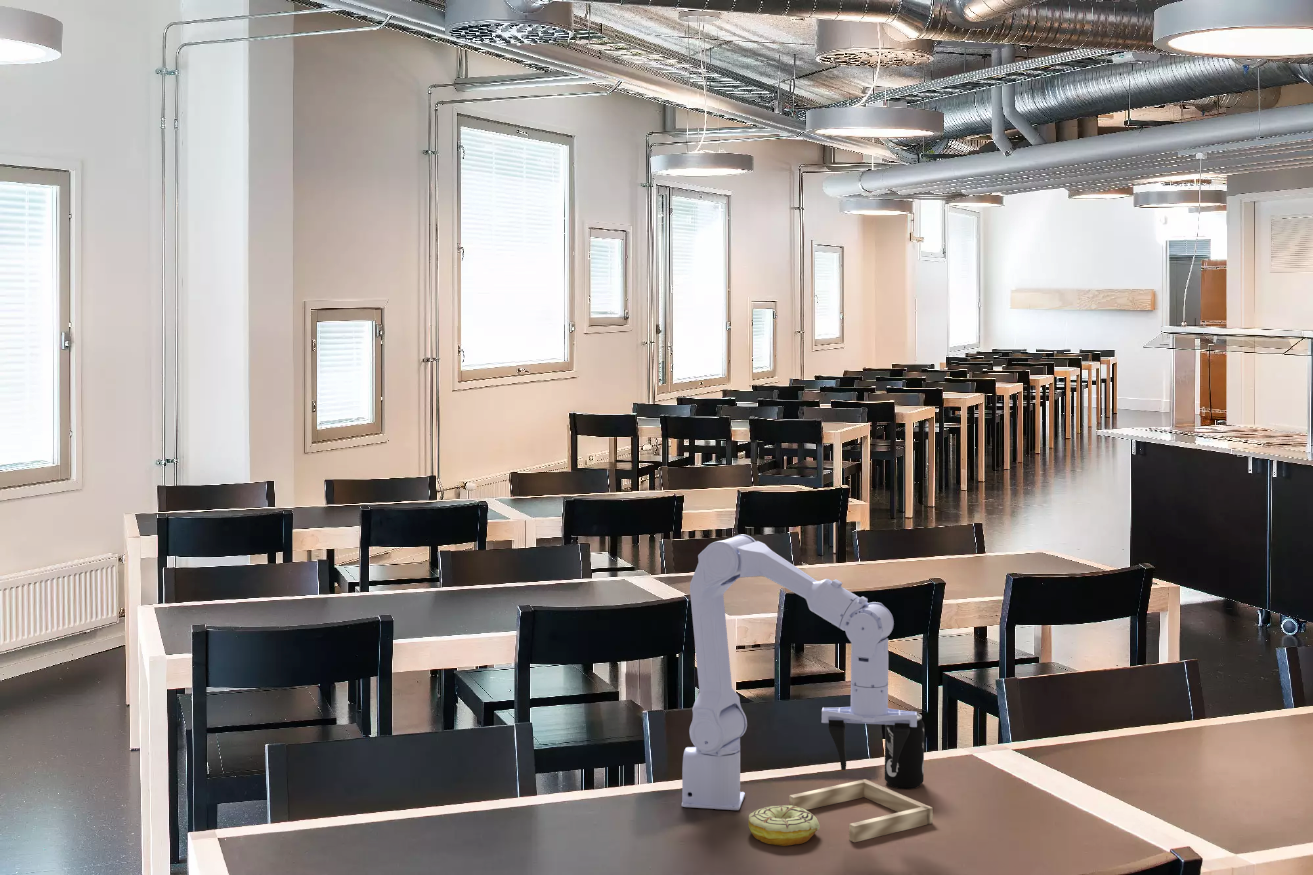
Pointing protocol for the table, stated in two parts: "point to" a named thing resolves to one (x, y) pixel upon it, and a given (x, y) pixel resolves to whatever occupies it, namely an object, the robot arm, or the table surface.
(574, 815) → the table surface
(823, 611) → the robot arm
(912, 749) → the beverage can
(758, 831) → the decorated donut
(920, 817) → the u-shaped wooden bracket
